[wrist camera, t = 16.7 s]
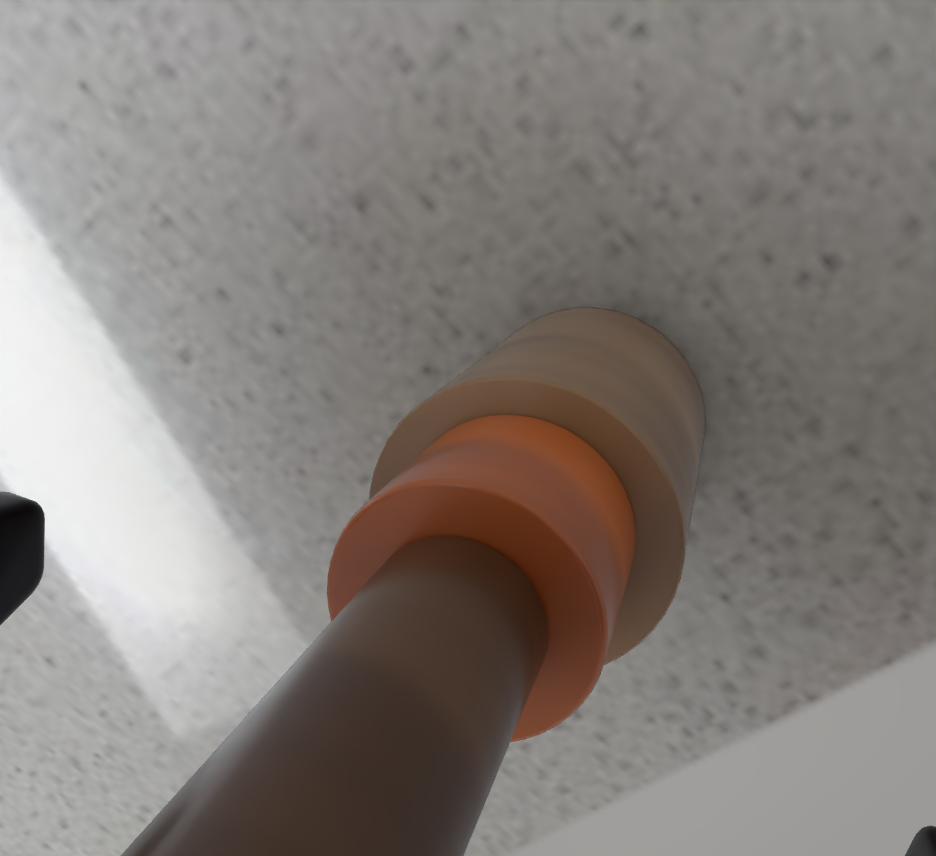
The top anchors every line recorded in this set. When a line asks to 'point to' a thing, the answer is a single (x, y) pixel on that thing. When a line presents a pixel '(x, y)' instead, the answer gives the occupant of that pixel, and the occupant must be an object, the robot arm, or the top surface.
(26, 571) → the robot arm
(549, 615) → the brown peg with discs
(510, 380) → the stand
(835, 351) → the top surface
